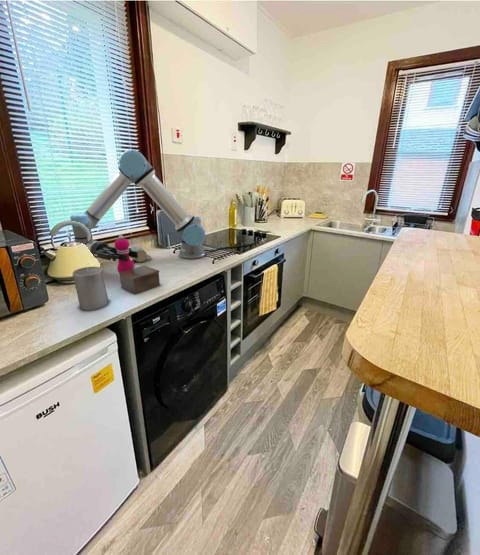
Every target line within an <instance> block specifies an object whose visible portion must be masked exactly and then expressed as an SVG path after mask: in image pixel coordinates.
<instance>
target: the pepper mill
mask: <svg viewBox="0 0 480 555" xmlns="http://www.w3.org/2000/svg"><path fill="white" fill-rule="evenodd" d="M114 247H116V248H117V249H118V250H117V253H119V254H124V255H127V259H128V261H122V260H118V263H117V268H116V269H117V272H118V273H119V272H122V271H125V270H129V269H133V268H135V265H134V263H133V262H132V260H131V257H130V256H129V249H128V248H130V241H129V240H128V239H127V238H124V235H122V234H119V235H118V238H117V239H115V241H114Z"/></svg>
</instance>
